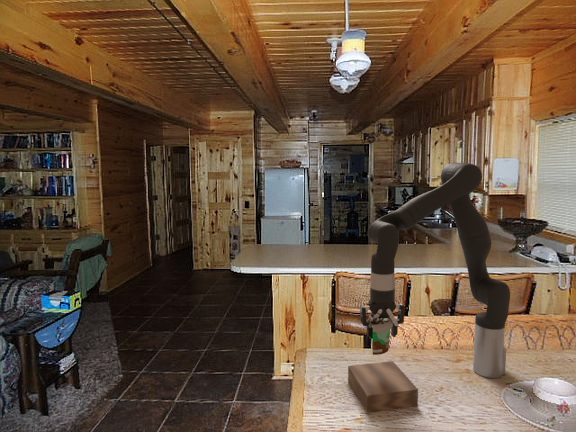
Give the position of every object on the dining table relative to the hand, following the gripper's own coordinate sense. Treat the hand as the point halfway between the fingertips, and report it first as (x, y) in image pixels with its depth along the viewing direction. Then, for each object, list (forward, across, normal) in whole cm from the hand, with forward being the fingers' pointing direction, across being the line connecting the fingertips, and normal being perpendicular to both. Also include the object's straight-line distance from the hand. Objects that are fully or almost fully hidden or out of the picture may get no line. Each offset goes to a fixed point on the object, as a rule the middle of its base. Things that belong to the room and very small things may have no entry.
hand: (381, 336), depth 131 cm
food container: (+4, 0, 0) cm, 4 cm away
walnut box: (+19, 0, 0) cm, 19 cm away
